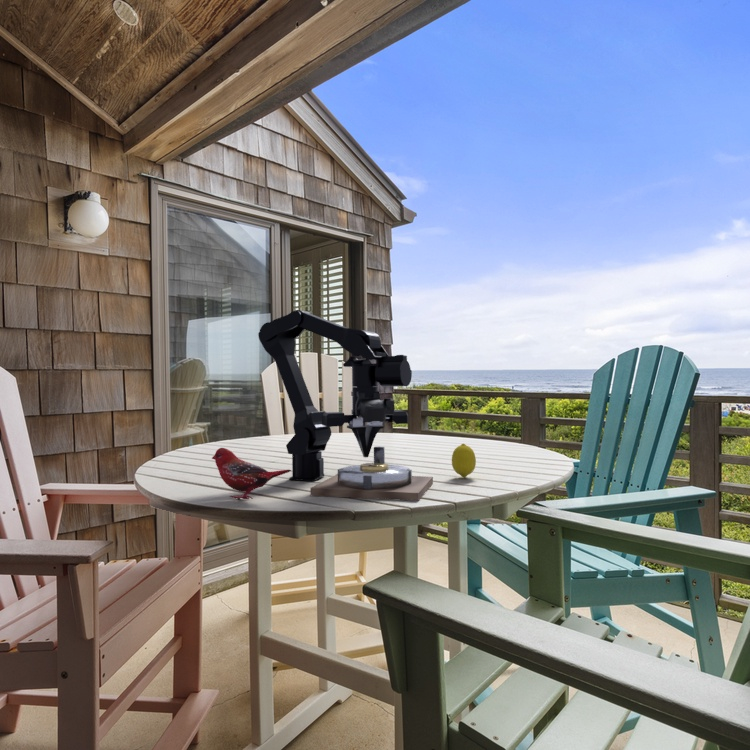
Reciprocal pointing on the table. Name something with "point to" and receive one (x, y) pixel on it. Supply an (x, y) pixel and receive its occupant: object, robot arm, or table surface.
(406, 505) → the table surface
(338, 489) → the base plate
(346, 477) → the notched round platform
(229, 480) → the decorative bird figurine
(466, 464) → the lemon
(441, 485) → the table surface
